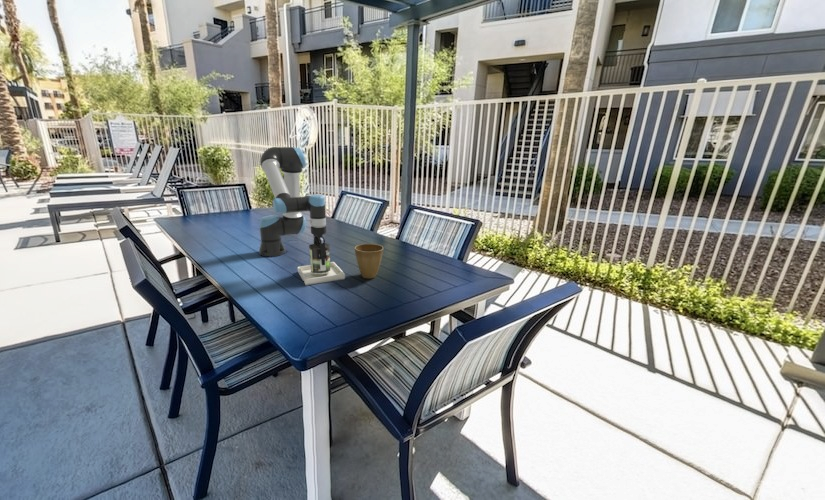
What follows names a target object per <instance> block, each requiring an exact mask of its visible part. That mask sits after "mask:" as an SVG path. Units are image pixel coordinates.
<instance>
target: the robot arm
mask: <svg viewBox="0 0 825 500" xmlns="http://www.w3.org/2000/svg"><path fill="white" fill-rule="evenodd" d="M259 163H260V164H259V165H260V168H261V170H262V171H263V172H264V173H265V176H266V178H267V181H268V183H269V187H270V188H271V192H272V194H273V196H274V198H273V199H272V209H273V211H274V213H275V214H271V215H265V216H263V217H260V219H259V220H258V221H259V222H258V223H259V224H258V227H259V234H260V245H259V246H260V247H259V249H258V253H259V254H260V255H259V256H261V255H262V256H261V257H264V256H269V257H268V258H270V257H271V256H274V257H278V256H279V255H280V256H283V255H285V254H286V248H285V246H284V243H283V241H282V237H285V236H294V235H300V234H303V233H304V232H305V230H306V228H307V222H306V220H307V219H306V217H305V215H303V212H309V218H310V219H309V220H308V221H309V223H310V233H311V234H312V235H313V244H316V245H317V246H318V247H319V248H320V258H319V259H320V271H324V270H326V260H325V259H326V258H327V257H326V248H325V243H326V239H325V237H324V235H325V234H327V218H326V217H327V216H326V201H325V196H324V195H323V194H311V195H305V196H300V195H301V194H300V192H301V191H300V189H301V188H300V182H301V181H300V174H301V173H303V169H305V168H306V165H307V164H306V163H307V162H306V158H305V153H304V151H303V150H302V149H301V148H300V147H294V146H291V147H289V146H272V147H269V148H267V149H266V150H264V151H263V153H262V155H261V156H260V162H259ZM282 173H283V174H282ZM279 214H282V216H279ZM282 254H283V255H282ZM271 258H272V257H271Z"/></svg>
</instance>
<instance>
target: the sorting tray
mask: <svg viewBox="0 0 825 500" xmlns="http://www.w3.org/2000/svg"><path fill="white" fill-rule="evenodd" d="M330 270H331V271H330V272H329V273H326V274H320V275H319V274H313V273H311V265H310V264H309V265H302V266H297V273H298V274H299V276H300V278H301V280H302V282H303V281H304V282H303V283H304V285H305V286H310V285H317V284H322V283H328V282H336V281H341V280H342V281H343V280H346V273H345V272H344V271H343V270H342V269H341V267H340V266H338V265H337V263H336V262H335V261H330Z"/></svg>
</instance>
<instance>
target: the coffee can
mask: <svg viewBox="0 0 825 500" xmlns="http://www.w3.org/2000/svg"><path fill="white" fill-rule="evenodd" d="M330 245H331V244H329V243H327V242H325V248H326V257H327V258H326V259H325V260H326V270H324V271H320V259H319V258H320V248H319V247H318V246H317V245H316V244H314V243H311V244H309V245H308V249H309V260H310V262H309V265H311V273H313V274H319V275H320V274H326V273H329V272H330V271H331V270H330V262H331V254H330V251H331V248H330V247H331V246H330Z"/></svg>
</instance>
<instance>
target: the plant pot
mask: <svg viewBox="0 0 825 500" xmlns="http://www.w3.org/2000/svg"><path fill="white" fill-rule="evenodd" d="M354 254H355V257H356V258H355V259H356V262H357V263H356V264H357V265H358V266H357V267H358V269H359V271H360V276H361V277H362V278H363V279H375V278H376V277H377V274H378V272H379V269H380V266H381V263H382V258H383V254H384V247H383V245H380V244H376V243H362V244H357V245H356V246H355V247H354Z"/></svg>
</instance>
